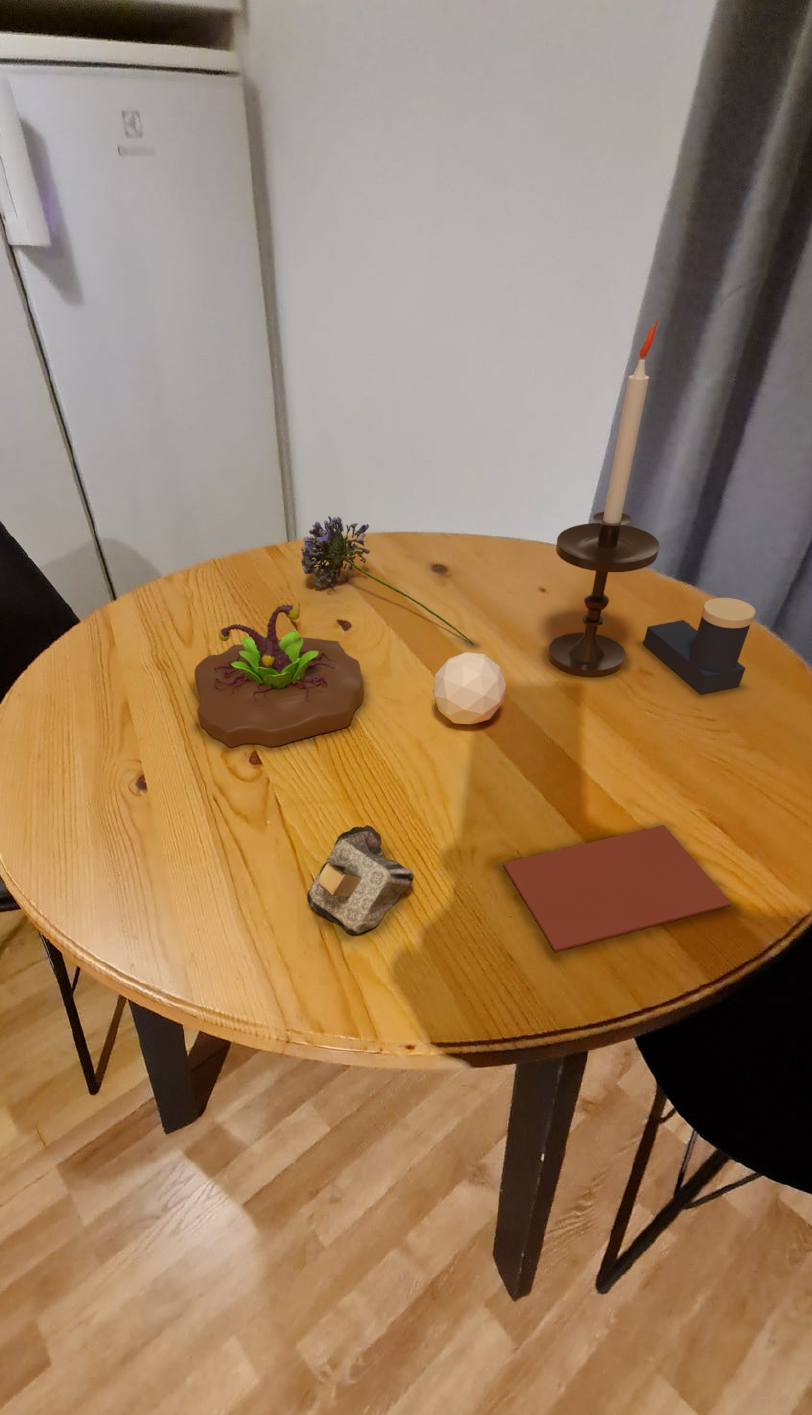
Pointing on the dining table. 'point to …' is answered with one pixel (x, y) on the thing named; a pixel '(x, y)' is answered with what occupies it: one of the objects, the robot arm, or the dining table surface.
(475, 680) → the geometric ball
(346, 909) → the grey patterned crumpled piece
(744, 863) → the dining table surface
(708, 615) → the bootie
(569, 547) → the candlestick
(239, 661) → the plant
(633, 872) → the mat
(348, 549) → the flower
